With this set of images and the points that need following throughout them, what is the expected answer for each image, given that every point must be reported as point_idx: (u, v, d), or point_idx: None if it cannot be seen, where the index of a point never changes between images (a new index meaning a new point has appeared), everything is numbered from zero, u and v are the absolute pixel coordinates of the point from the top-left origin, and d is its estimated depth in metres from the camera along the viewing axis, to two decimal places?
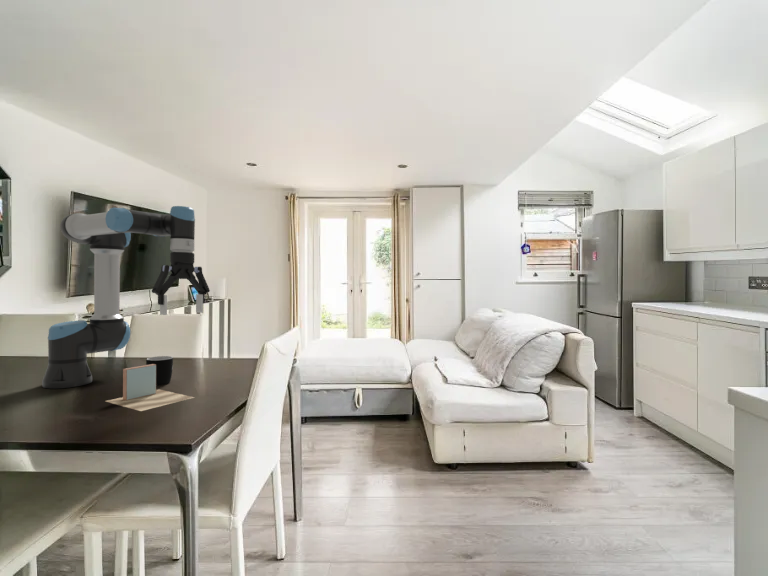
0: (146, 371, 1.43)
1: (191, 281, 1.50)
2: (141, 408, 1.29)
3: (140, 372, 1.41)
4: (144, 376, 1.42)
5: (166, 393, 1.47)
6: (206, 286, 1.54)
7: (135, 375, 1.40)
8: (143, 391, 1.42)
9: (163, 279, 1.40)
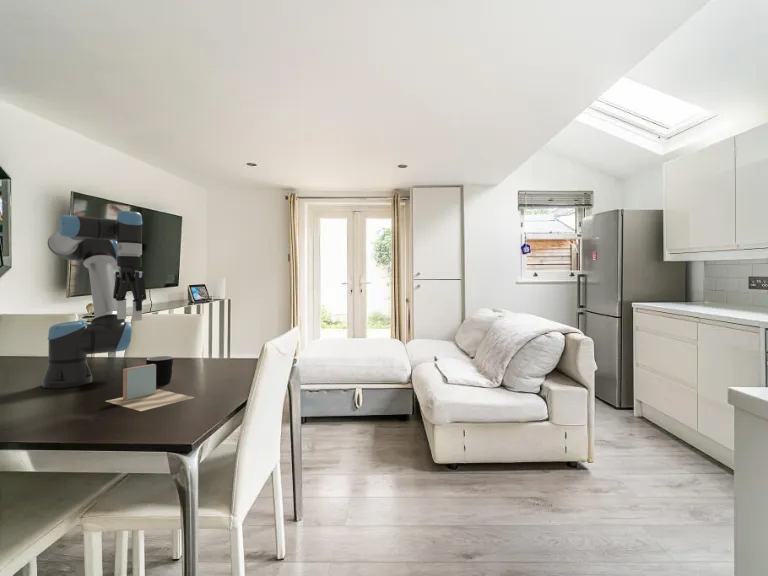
0: (146, 371, 1.43)
1: None
2: (141, 408, 1.29)
3: (140, 372, 1.41)
4: (144, 376, 1.42)
5: (166, 393, 1.47)
6: (137, 293, 1.46)
7: (135, 375, 1.40)
8: (143, 391, 1.42)
9: (115, 285, 1.53)
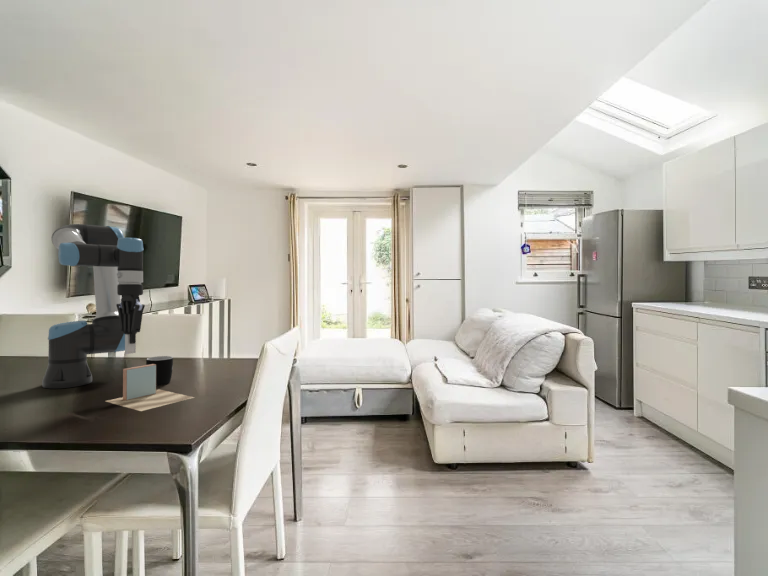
0: (146, 371, 1.43)
1: None
2: (141, 408, 1.29)
3: (140, 372, 1.41)
4: (144, 376, 1.42)
5: (166, 393, 1.47)
6: (132, 326, 1.42)
7: (135, 375, 1.40)
8: (143, 391, 1.42)
9: (119, 317, 1.46)
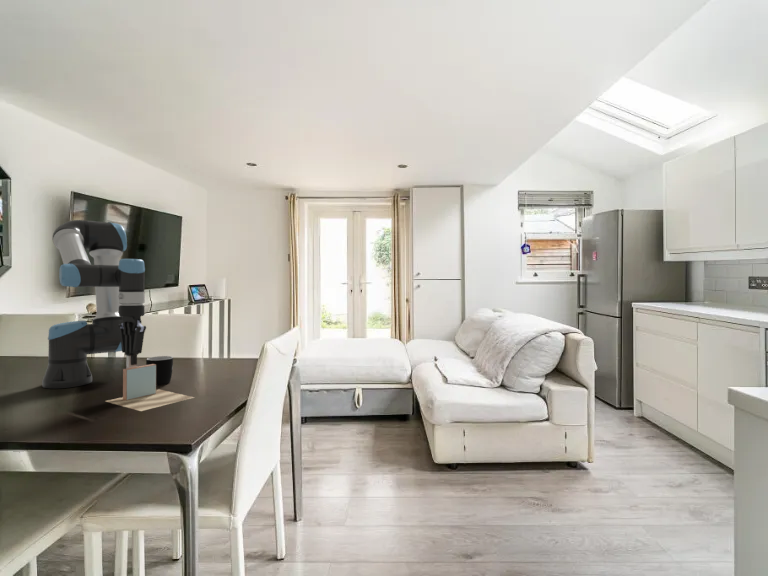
0: (146, 371, 1.43)
1: None
2: (141, 408, 1.29)
3: (140, 372, 1.41)
4: (144, 376, 1.42)
5: (166, 393, 1.47)
6: (133, 347, 1.42)
7: (135, 375, 1.40)
8: (143, 391, 1.42)
9: (121, 338, 1.46)
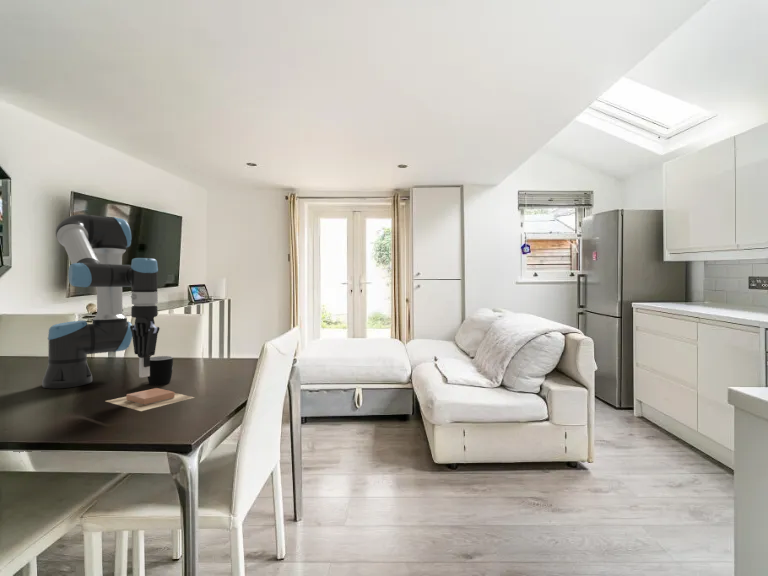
0: None
1: None
2: (141, 408, 1.29)
3: None
4: None
5: None
6: (147, 349, 1.38)
7: None
8: None
9: (133, 339, 1.42)
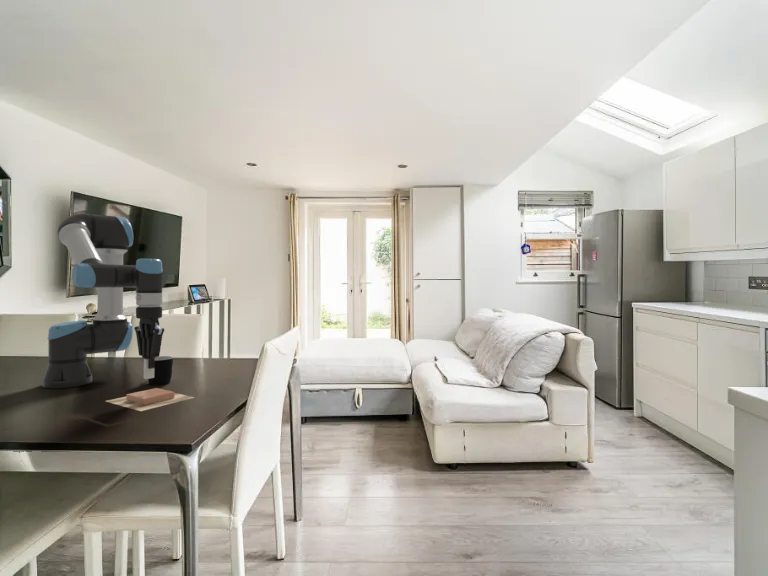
0: None
1: None
2: (141, 408, 1.29)
3: None
4: None
5: None
6: (151, 350, 1.37)
7: None
8: None
9: (138, 341, 1.41)
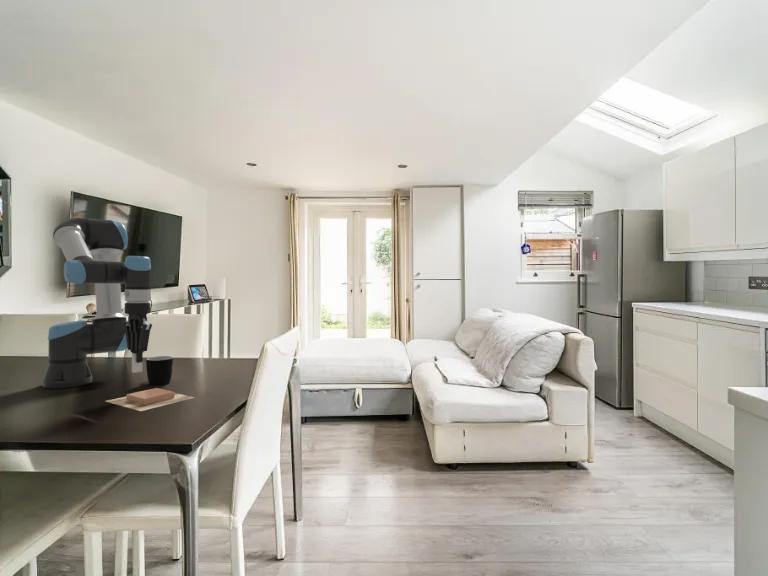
0: None
1: None
2: (141, 408, 1.29)
3: None
4: None
5: None
6: (139, 345, 1.41)
7: None
8: None
9: (126, 335, 1.45)
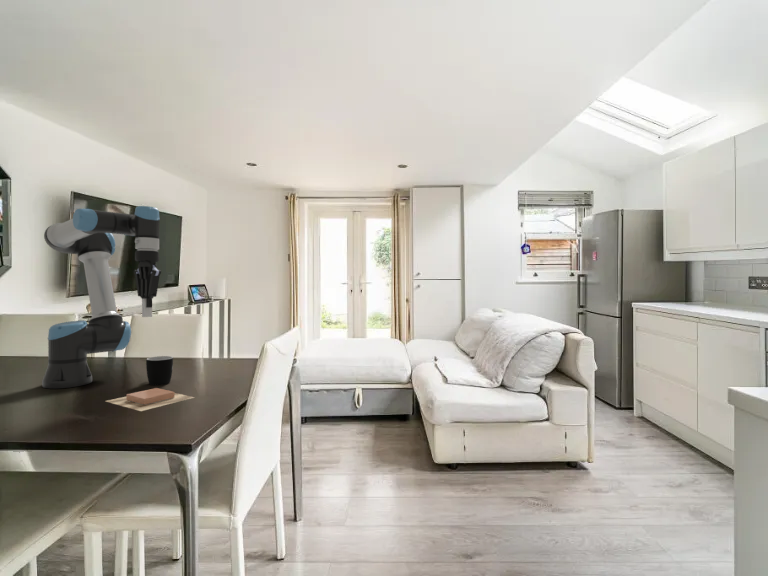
0: None
1: None
2: (141, 408, 1.29)
3: None
4: None
5: None
6: (149, 290, 1.49)
7: None
8: None
9: (137, 283, 1.53)
